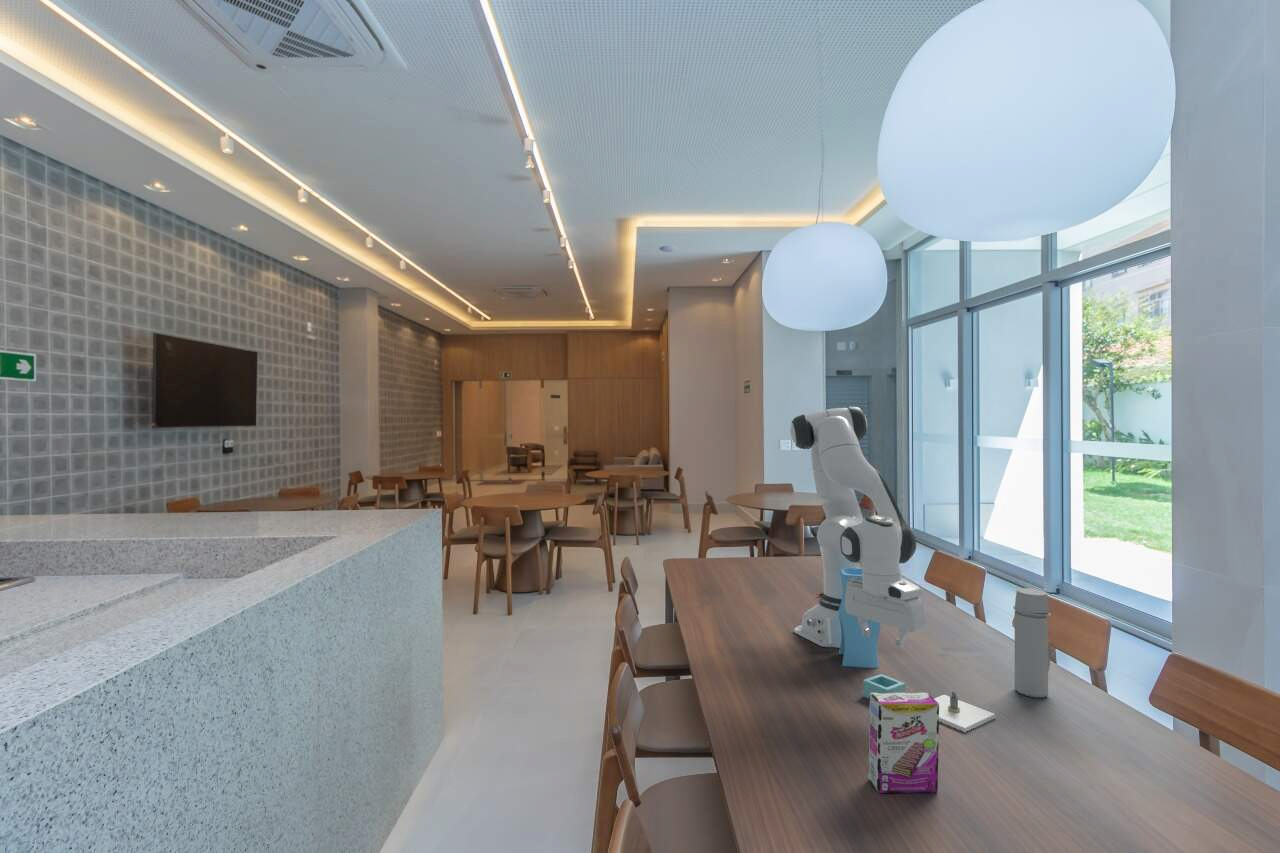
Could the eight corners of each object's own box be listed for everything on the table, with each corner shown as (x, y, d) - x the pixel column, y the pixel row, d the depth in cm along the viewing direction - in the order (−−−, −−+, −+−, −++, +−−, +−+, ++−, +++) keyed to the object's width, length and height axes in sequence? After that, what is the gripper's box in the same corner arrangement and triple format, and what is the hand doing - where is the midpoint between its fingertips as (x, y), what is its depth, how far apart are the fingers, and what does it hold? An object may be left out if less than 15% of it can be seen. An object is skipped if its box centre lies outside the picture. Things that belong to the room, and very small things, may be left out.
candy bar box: (878, 795, 110) (878, 703, 110) (867, 779, 115) (867, 691, 115) (940, 794, 111) (940, 702, 111) (926, 778, 116) (926, 690, 116)
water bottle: (1033, 701, 148) (1033, 596, 148) (1005, 688, 156) (1005, 588, 155) (1063, 697, 150) (1063, 594, 150) (1034, 684, 158) (1034, 586, 158)
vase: (880, 668, 168) (880, 576, 168) (842, 665, 170) (842, 574, 170) (874, 655, 178) (874, 568, 178) (838, 653, 180) (838, 566, 180)
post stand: (914, 711, 143) (914, 688, 143) (944, 698, 150) (944, 677, 150) (965, 732, 133) (965, 708, 133) (994, 718, 139) (994, 695, 139)
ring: (863, 696, 151) (863, 679, 151) (880, 689, 154) (880, 673, 154) (887, 707, 145) (887, 689, 145) (905, 700, 149) (905, 683, 149)
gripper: (838, 577, 157) (839, 632, 157) (911, 594, 140) (912, 656, 139) (854, 574, 160) (856, 627, 160) (927, 590, 143) (929, 650, 143)
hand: (883, 641), depth 150 cm, fingers open, 8 cm apart
